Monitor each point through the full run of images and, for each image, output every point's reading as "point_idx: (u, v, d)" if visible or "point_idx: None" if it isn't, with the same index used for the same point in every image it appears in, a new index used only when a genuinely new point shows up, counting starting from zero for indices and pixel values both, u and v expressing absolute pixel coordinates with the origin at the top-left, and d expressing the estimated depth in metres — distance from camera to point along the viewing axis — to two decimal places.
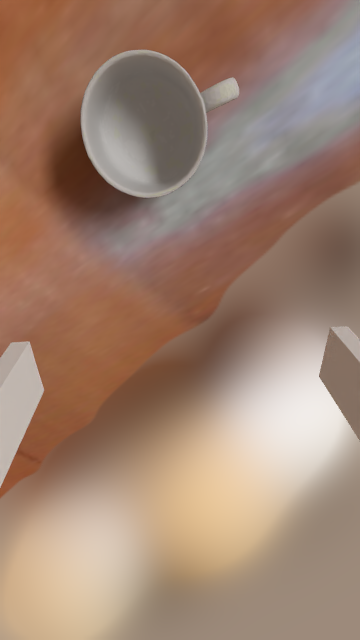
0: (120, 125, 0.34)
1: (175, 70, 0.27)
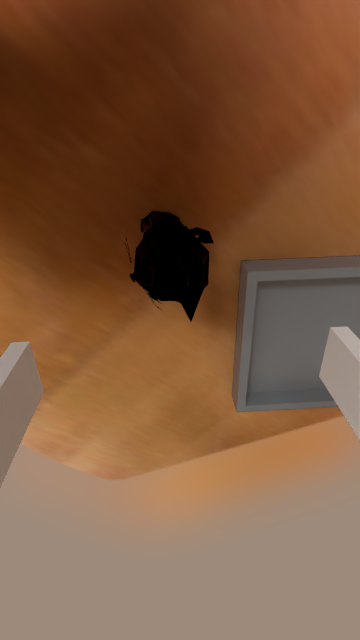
0: None
1: None
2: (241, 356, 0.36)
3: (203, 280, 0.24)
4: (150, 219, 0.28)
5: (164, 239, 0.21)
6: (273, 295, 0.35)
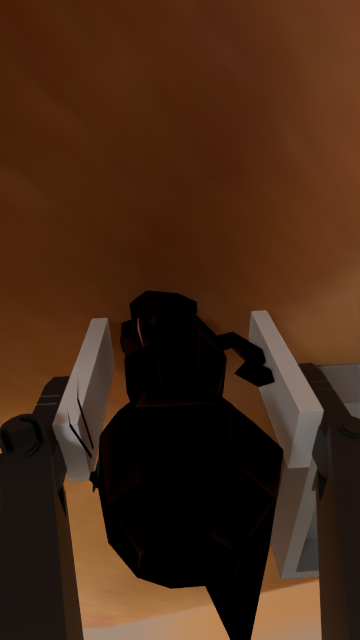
0: None
1: None
2: (297, 516, 0.21)
3: (271, 529, 0.09)
4: (139, 325, 0.13)
5: (174, 499, 0.06)
6: None
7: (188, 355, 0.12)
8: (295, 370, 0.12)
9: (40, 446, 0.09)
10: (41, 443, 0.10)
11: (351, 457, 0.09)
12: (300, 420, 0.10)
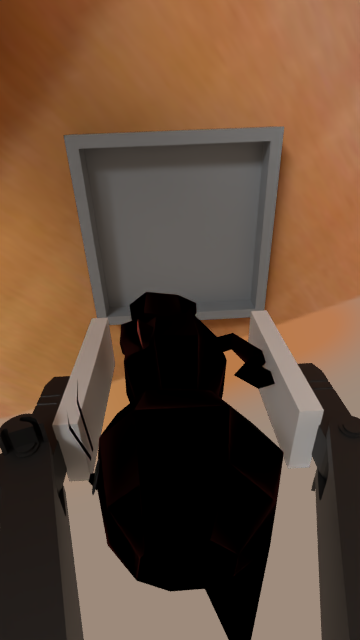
0: None
1: None
2: (86, 251, 0.32)
3: (271, 531, 0.09)
4: (139, 327, 0.13)
5: (174, 503, 0.06)
6: (115, 178, 0.31)
7: (188, 357, 0.12)
8: (295, 370, 0.12)
9: (40, 446, 0.09)
10: (41, 443, 0.10)
11: (351, 457, 0.09)
12: (300, 420, 0.10)
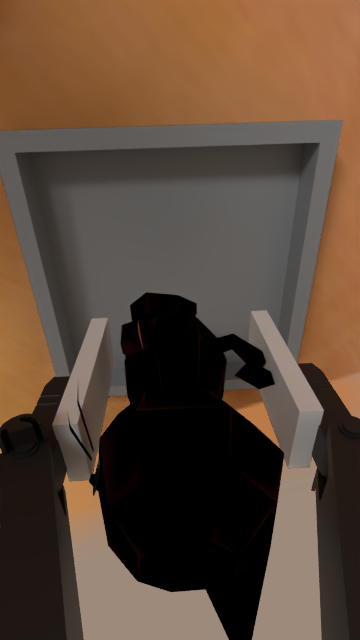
0: None
1: None
2: (38, 303, 0.22)
3: (272, 532, 0.09)
4: (140, 327, 0.13)
5: (174, 504, 0.06)
6: (81, 197, 0.21)
7: (188, 357, 0.12)
8: (295, 370, 0.12)
9: (40, 446, 0.09)
10: (41, 443, 0.10)
11: (351, 457, 0.09)
12: (300, 420, 0.10)
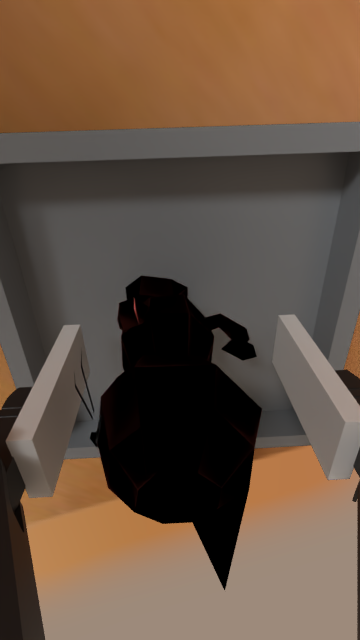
0: None
1: None
2: (6, 353, 0.17)
3: (250, 476, 0.11)
4: (135, 305, 0.15)
5: (168, 435, 0.08)
6: (59, 220, 0.16)
7: (179, 331, 0.14)
8: (334, 378, 0.12)
9: None
10: None
11: None
12: (344, 431, 0.10)
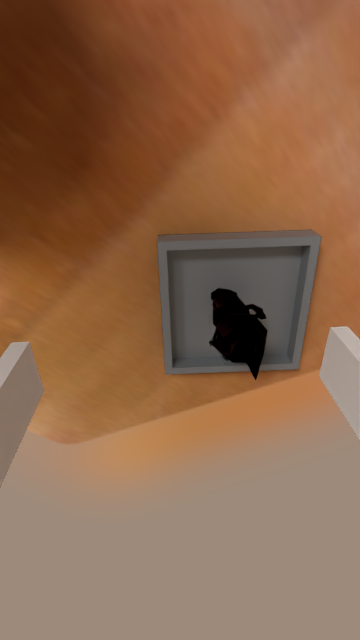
0: None
1: None
2: (162, 320, 0.41)
3: (263, 350, 0.34)
4: (220, 299, 0.39)
5: (243, 327, 0.32)
6: (188, 266, 0.40)
7: (238, 308, 0.38)
8: None
9: None
10: None
11: None
12: None
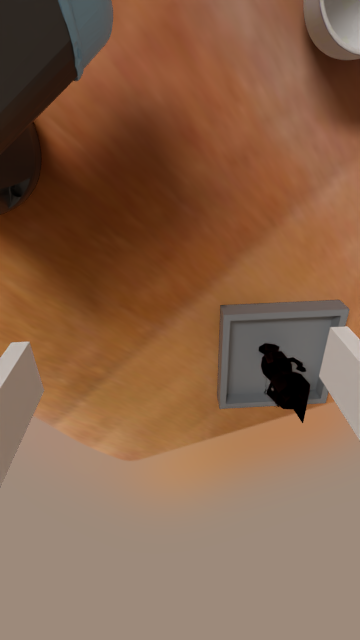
0: (337, 35, 0.34)
1: None
2: (221, 369, 0.52)
3: (307, 400, 0.45)
4: (270, 355, 0.49)
5: (296, 387, 0.43)
6: (243, 328, 0.51)
7: (284, 364, 0.49)
8: None
9: None
10: None
11: None
12: None
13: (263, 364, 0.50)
